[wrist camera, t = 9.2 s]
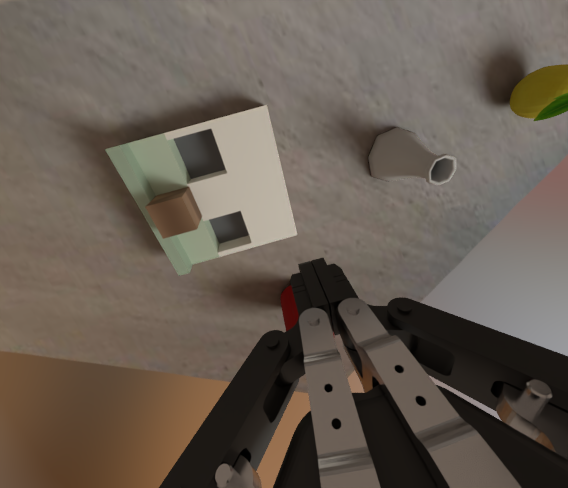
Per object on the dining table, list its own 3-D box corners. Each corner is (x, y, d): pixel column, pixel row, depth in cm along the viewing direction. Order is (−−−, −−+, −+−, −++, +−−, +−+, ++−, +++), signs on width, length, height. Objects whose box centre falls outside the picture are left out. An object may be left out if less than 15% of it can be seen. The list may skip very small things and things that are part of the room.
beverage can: (323, 293, 44) (347, 349, 34) (294, 313, 46) (309, 373, 35) (301, 272, 41) (320, 326, 31) (271, 294, 43) (281, 353, 32)
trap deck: (264, 105, 28) (268, 104, 24) (293, 226, 37) (300, 241, 32) (126, 143, 28) (104, 149, 24) (186, 256, 37) (178, 275, 32)
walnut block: (189, 186, 29) (181, 196, 25) (202, 216, 31) (197, 229, 27) (156, 195, 29) (144, 206, 25) (172, 224, 31) (163, 238, 27)
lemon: (482, 119, 33) (566, 122, 25) (503, 67, 30) (606, 49, 22) (522, 122, 34) (617, 125, 26) (546, 72, 31) (661, 57, 23)
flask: (370, 128, 32) (418, 135, 23) (421, 125, 32) (486, 130, 24) (364, 183, 35) (403, 206, 27) (410, 179, 36) (462, 200, 27)
